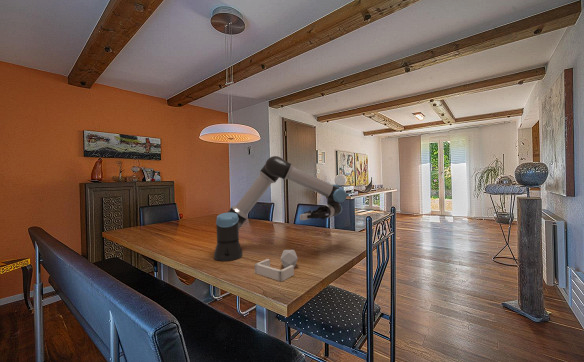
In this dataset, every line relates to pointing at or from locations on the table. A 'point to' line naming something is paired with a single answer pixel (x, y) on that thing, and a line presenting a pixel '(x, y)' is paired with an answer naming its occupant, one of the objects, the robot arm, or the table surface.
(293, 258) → the die
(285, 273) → the grey u-shaped bracket
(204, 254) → the table surface
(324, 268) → the table surface
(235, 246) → the robot arm
